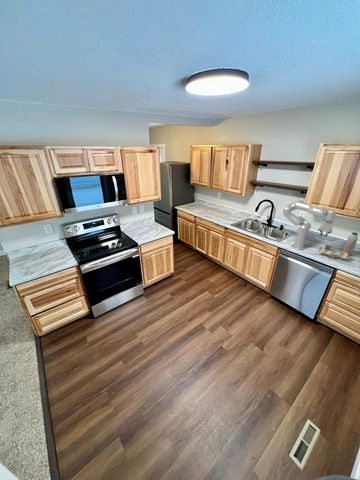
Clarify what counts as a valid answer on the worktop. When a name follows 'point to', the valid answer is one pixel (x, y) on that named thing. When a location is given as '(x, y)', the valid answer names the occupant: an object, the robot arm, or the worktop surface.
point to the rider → (327, 247)
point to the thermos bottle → (350, 244)
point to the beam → (333, 253)
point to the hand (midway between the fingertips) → (323, 236)
